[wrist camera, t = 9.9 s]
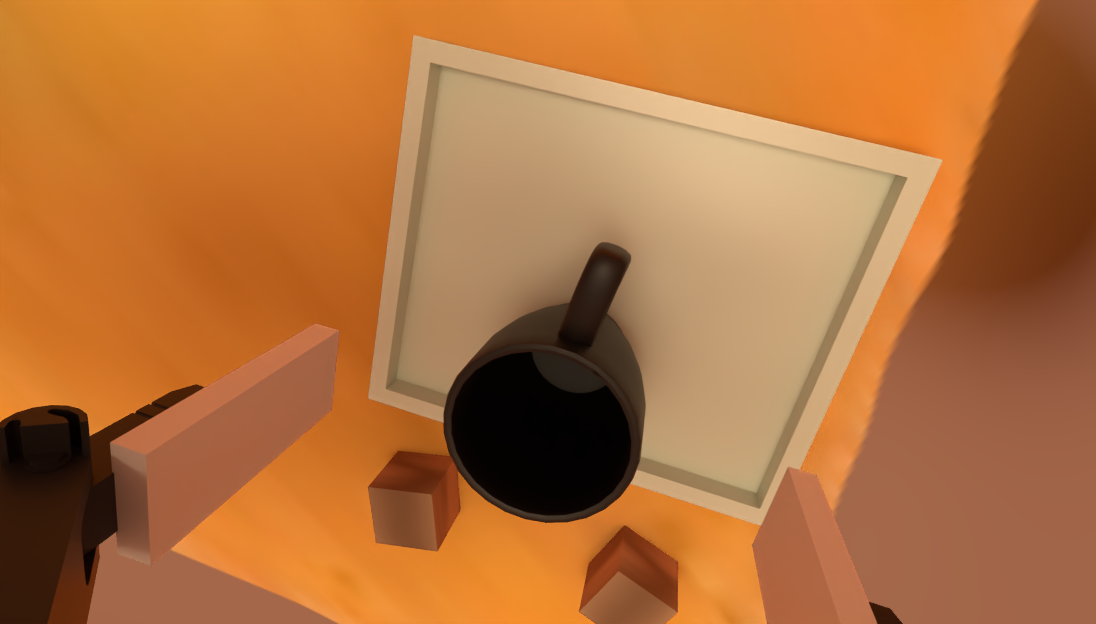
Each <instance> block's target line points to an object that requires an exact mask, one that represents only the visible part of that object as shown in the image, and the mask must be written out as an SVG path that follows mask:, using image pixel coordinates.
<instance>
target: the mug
mask: <svg viewBox="0 0 1096 624" xmlns="http://www.w3.org/2000/svg"><path fill="white" fill-rule="evenodd" d="M630 262H631V255H630V254H629V253H628V252H627V251H626V250H625V249H623V248H622V247H620V246H618V245H615V244H612V243H609V242H601V243H599V244H598V245H597V246H596V247H595V248H594V250H593V252H592V253H591V255H590V257H589V259H588V261H587V263H586V265H585V268H584V270H583V272H582V274H581V277H580V279H579V281H578V284H577V286H576V288H575V291H574V293H573V295H572V298H571V300H570V303H565V304H560V305H556V306H549V307H545V308H542V309H540V310H537V311H534V312H531V313H528V314H526V315H524V316H522V317H520V318H518V319H516V320H514V321H513V322H511V323H510V324H508V325H507V326H505V327H504V328H502V329H501V330H500V331H498V332H497V333H495V334H494V335H493V336H492V337H491V338H490V339H489V340H488V341H487V342H486V343H485V344H484V346H483V347H482V348H481V349H480V350H479V351H478V352H477V353H476V354H475V355H474V357H473V358H472V359H471V360H470V361H469V362H468V363H467V365H466V366H465V367H464V368H463V369H462V370H461V372H460V373H459V374H458V375H457V376H456V378H455V380H454V382H453V384H452V386H451V388H450V390H449V392H448V394H447V399H446V403H445V408H444V413H443V420H444V435H445V440H446V443H447V447H448V451H449V454H450V456H451V458H452V460H453V462H454V464H455V466H456V468H457V470H458V471H459V472H460V474H461V475H462V476H463V478H464V479H465V480H466V481H467V483H468V484H469V485H470V486H471V487H472V488H473V489H474V490H475V491H476V492H477V493H478V494H480V495H481V496H482V497H483V498H484V499H485V500H487V501H488V502H490V503H491V504H493V505H495V506H497V507H498V508H500V509H502V510H503V511H505V512H508V513H510V514H513V515H516V516H518V517H521V518H524V519H528V520H534V521H539V522H545V523H555V522H570V521H575V520H579V519H584V518H587V517H589V516H592V515H594V514H596V513H598V512H600V511H602V510H604V509H606V508H607V507H608V506H609V505H611V504H612V503H613V502H614V501H615V500H617V499H618V498H619V497H620V496H621V495H622V494H623V492H624V491H625V490H626V488H627V487H628V486H629V484H630V483H631V481H632V480H633V478H634V476H635V473H636V470H637V468H638V465H639V463H640V458H641V449H642V440H643V431H644V421H645V409H646V402H645V394H644V387H643V380H642V374H641V371H640V367H639V364H638V362H637V360H636V357H635V355H634V352H633V350H632V348H631V345H630V343H629V342H628V340H627V339H626V337H625V336H624V335H623V333H622V330H621V329H620V327H619V326H618V325H617V323H616V322H615V321H614V320H613V319H612V318H611V317H610V316H609V315H608V314H607V312H608V310H609V308H610V305H611V303H612V301H613V299H614V297H615V294H616V292H617V290H618V288H619V286H620V284H621V282H622V279H623V277H624V275H625V273H626V271H627V269H628V267H629V265H630Z"/></svg>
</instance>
